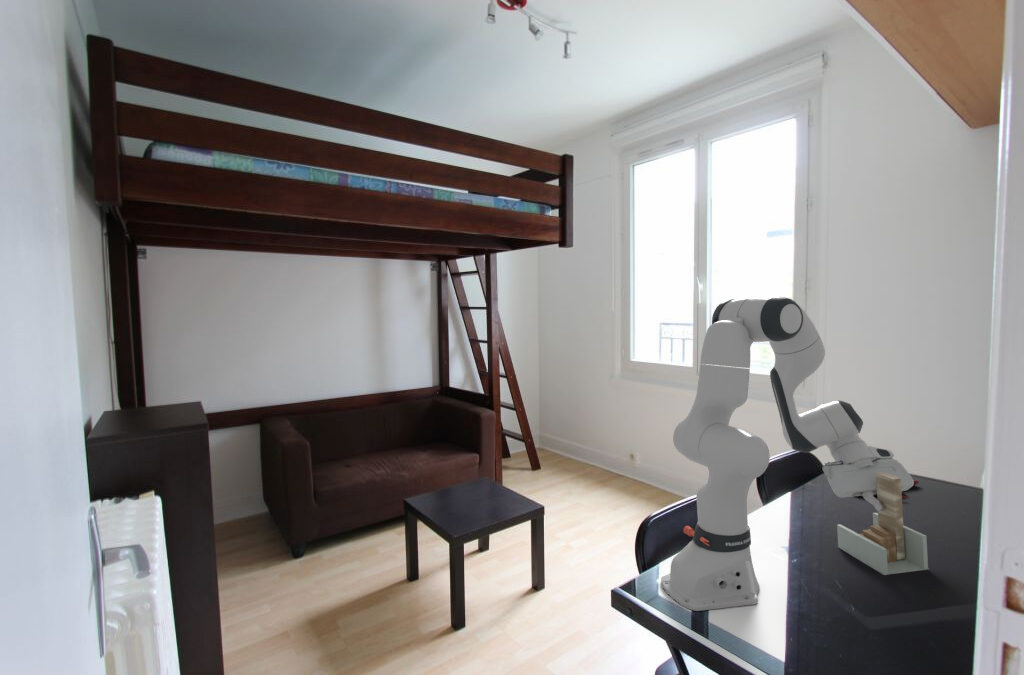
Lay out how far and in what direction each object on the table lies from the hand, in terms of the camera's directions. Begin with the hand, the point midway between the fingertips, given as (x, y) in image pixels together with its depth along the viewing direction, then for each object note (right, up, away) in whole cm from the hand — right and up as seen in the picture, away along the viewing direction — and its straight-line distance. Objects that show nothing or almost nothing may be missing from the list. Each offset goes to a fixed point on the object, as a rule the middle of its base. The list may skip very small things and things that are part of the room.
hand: (888, 509), depth 119 cm
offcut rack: (-2, -13, 0) cm, 14 cm away
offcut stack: (-3, -12, 0) cm, 13 cm away
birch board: (+1, -11, 0) cm, 11 cm away
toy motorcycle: (+34, -10, +44) cm, 56 cm away
